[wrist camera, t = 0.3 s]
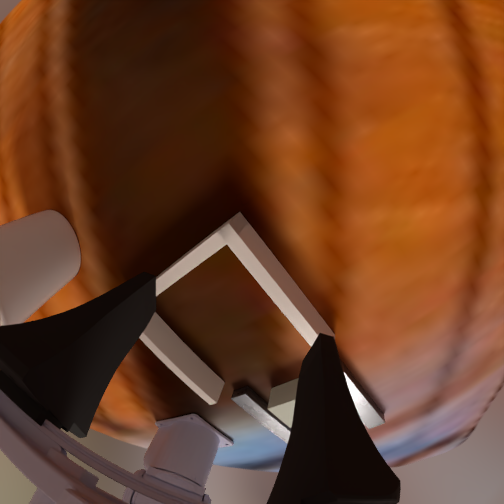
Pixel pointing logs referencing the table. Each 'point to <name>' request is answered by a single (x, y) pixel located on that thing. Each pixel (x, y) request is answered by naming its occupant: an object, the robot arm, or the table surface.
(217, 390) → the white u-shaped bracket
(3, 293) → the candle holder
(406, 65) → the table surface
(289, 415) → the chip
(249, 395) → the channel
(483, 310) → the table surface
